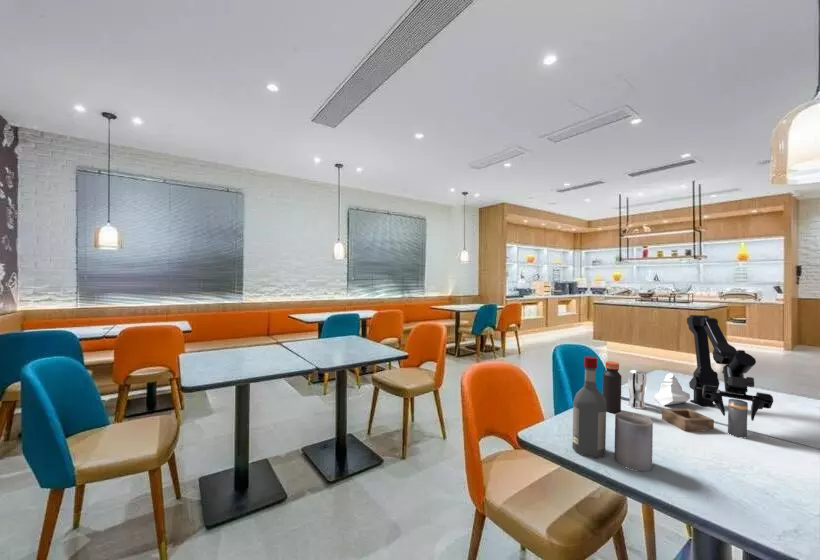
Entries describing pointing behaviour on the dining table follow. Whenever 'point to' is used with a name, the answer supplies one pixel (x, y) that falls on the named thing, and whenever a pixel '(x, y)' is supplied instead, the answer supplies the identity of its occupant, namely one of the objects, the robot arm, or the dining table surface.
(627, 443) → the pillar candle
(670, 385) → the soft serve ice cream
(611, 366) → the bottle
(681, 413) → the walnut socket block
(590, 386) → the liquor
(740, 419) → the charcoal peg
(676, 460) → the dining table surface
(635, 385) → the beer glass
